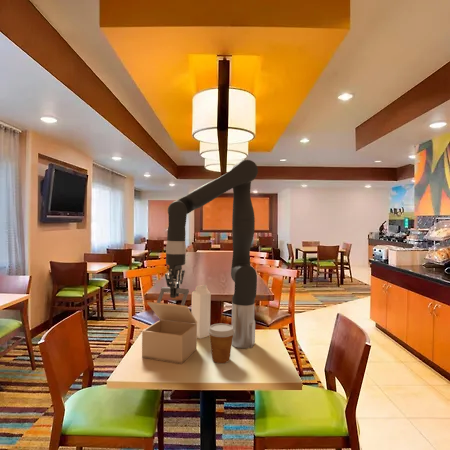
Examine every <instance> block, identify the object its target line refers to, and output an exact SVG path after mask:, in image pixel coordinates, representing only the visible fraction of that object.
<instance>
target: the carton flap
mask: <svg viewBox="0 0 450 450" xmlns="http://www.w3.org/2000/svg"><path fill="white" fill-rule="evenodd" d="M164 293H170V287H168V286H161V287H160V292H159V295H158V297H157V301H156V302H154V301H153V302H152V301H147V303H146V304H147V305H148V306H149V308H150V309H151V310H152V312H154V314H155V315H156V316H157V317H158V319H159V320H166V321H175V322H183V323H194V324H197V321H196V320H195V318H194V316H193V315H192V313H191V310H190V308H189V306H188V305H185V304H186V302H187V297H188V295H189V293H190V289H189V288H180V287H179V288H176V293H178V294H179V295H180V294H181V295H183V297H182V298H181V303H180V304H171V303H161V302H162V299H163V297H164Z"/></svg>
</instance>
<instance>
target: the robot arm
mask: <svg viewBox="0 0 450 450" xmlns="http://www.w3.org/2000/svg"><path fill="white" fill-rule="evenodd" d="M258 172H259V168H258V166H257V164H256V163H255V162H254V161H253V160H251V159H242V160H240V161H238V162H236V163H235V164H234V165H233V166H232V169H230V170H229V171H227V172H226V173H224V174H223V175H221V176H220V177H218V178H215V179H213V180H210V181H209V182H207V183H205V184H203V185H201V186H199V187H197V188H195V189H194V190H193V191H190V192H189V193H188V194H186V195H185V196H182V197H181V198H178V199H177V200H174V201H173V202H171V203H170V204H169V206H167V214H168V227H167V234H166V240H167V241H166V247H165V250H166V251H165V265H167V266H168V272H167V273H165V274H164V278H165V282H166V285H167V286H166V287H170V294H169V295H170V298H171V299H172V298H173V299H175V298H176V297H177V298H178V297H179V296H180V294H178V293H176V288H180V287H181V285H182V284H183V280H184V277H185V273H186V271H185V269H183V267H182V266H184V265H186V256H187V255H186V249H187V247H186V224H187V215H188V214H190V213H192V212H193V211H195V210H197V209H199V208H201V207H203V206H205V205H207V204H209V203H210V202H212V201H213V200H216V199H217V198H218V197H220V196H222V195H223V194H225V193H227V192H228V191H230V190H232V191H233V193H232V194H233V196H232V197H233V200H232V216H231V217H232V219H231V228H232V229H231V231H232V237H231V238H232V260H231V266H230V268H231V269H230V277H231V279H232V281H233V282H234V293H233V295H232V298H231V326H233V329H234V334H233V338H232V345H231V346H232V347H234V348H239V349H252V348H253V347H254V346H255V343H256V320H255V301H256V296H257V289H258V288H257V286H258V274H257V270H256V268H254V267H253V266H251V247H252V244H253V239H254V236H255V225H256V221H255V220H256V218H255V211H254V207H253V203H252V198H251V188H252V182H253V181H254V180H255V179H256V178H257V176H258Z"/></svg>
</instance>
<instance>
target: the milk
mask: <svg viewBox="0 0 450 450" xmlns="http://www.w3.org/2000/svg"><path fill="white" fill-rule="evenodd" d="M207 287H208V286H207V284H202V285H197V286H195V290H194V291H192V292H191V310H190V312H191V313H192V315H193V316H194V318H195V320H196V321H197V338H198V339H199V340H200V339H203V338H206V337H210V334H209V331H208V330H209V329H210V326H211V300H212V299H211V297H212V296H211V292H210V291H209V290H208V289H209V288H207ZM192 324H194V323H192Z"/></svg>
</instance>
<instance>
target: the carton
mask: <svg viewBox="0 0 450 450" xmlns="http://www.w3.org/2000/svg"><path fill="white" fill-rule="evenodd" d="M141 332H142V333H141V359H147V360H154V361H155V360H156V361H161V362H168V363H173V364H180V365H182V364H184V362H186V360H188V358H190V356H191V355H192V354H194V353H195V351H196V350H197V346H198V345H197V341H198V339H197V324H192V323H185V322H177V321H168V320H160V319H159V320H157V321H156V322H154V323H152V324H151V325H149V326H148V327H147V328H144V329H143V330H142V331H141Z"/></svg>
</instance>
